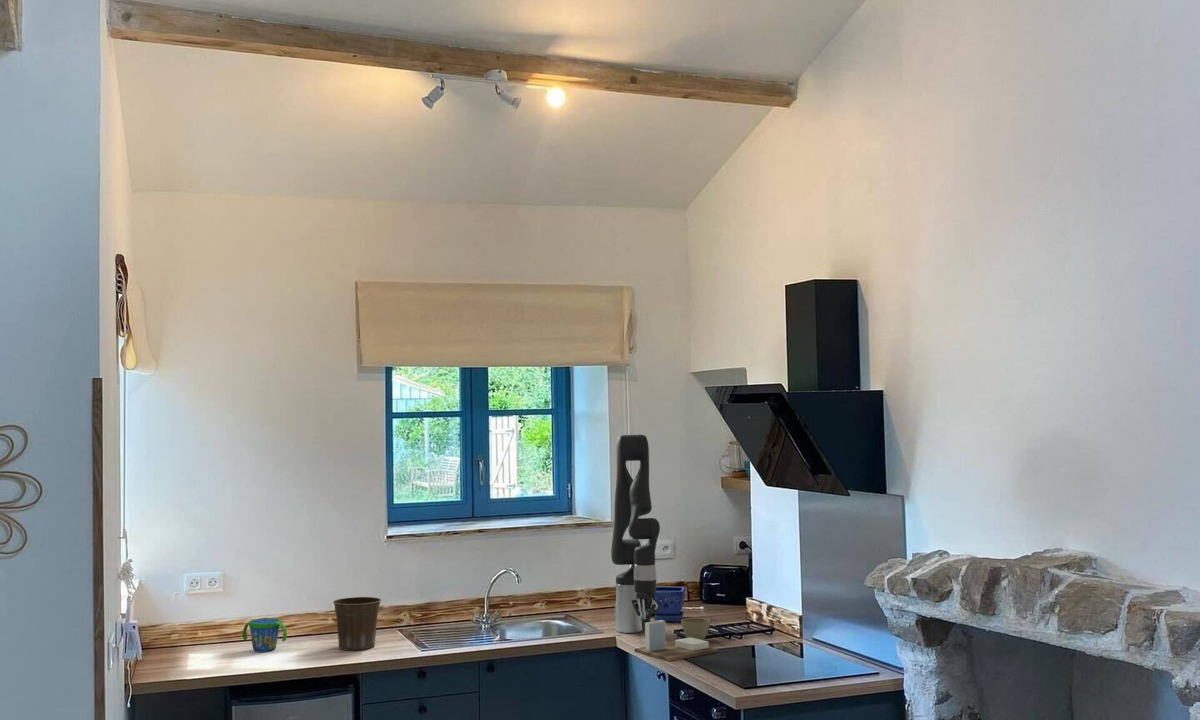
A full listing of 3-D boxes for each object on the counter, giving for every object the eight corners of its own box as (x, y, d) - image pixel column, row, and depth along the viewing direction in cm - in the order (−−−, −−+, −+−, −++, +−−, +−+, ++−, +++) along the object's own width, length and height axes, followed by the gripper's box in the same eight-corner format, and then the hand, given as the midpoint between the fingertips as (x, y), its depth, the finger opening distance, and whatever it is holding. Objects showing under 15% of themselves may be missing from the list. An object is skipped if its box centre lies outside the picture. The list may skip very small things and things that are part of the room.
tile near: (645, 650, 345) (645, 622, 345) (661, 647, 349) (661, 620, 350) (649, 651, 343) (649, 623, 344) (665, 648, 347) (665, 620, 348)
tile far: (675, 640, 350) (692, 644, 342) (690, 637, 354) (708, 641, 347) (675, 646, 350) (692, 651, 342) (691, 643, 354) (708, 648, 346)
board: (634, 651, 347) (634, 648, 347) (682, 643, 359) (682, 640, 360) (669, 661, 333) (669, 658, 333) (718, 652, 345) (717, 648, 345)
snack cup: (293, 648, 362) (293, 618, 362) (275, 654, 352) (275, 624, 352) (254, 646, 366) (254, 616, 367) (235, 652, 356) (235, 622, 357)
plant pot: (365, 640, 373) (365, 594, 374) (390, 646, 362) (390, 599, 363) (324, 647, 362) (324, 600, 363) (349, 654, 350) (348, 605, 351)
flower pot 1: (652, 616, 411) (651, 585, 412) (686, 616, 409) (685, 585, 410) (649, 622, 398) (648, 590, 399) (684, 622, 396) (683, 591, 397)
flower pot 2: (708, 644, 357) (708, 623, 358) (679, 643, 359) (679, 622, 360) (711, 638, 367) (711, 617, 367) (683, 637, 369) (682, 617, 369)
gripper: (624, 576, 355) (625, 628, 353) (648, 581, 344) (649, 634, 343) (641, 574, 359) (642, 625, 358) (666, 578, 348) (667, 631, 347)
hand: (646, 630), depth 350 cm, fingers closed
